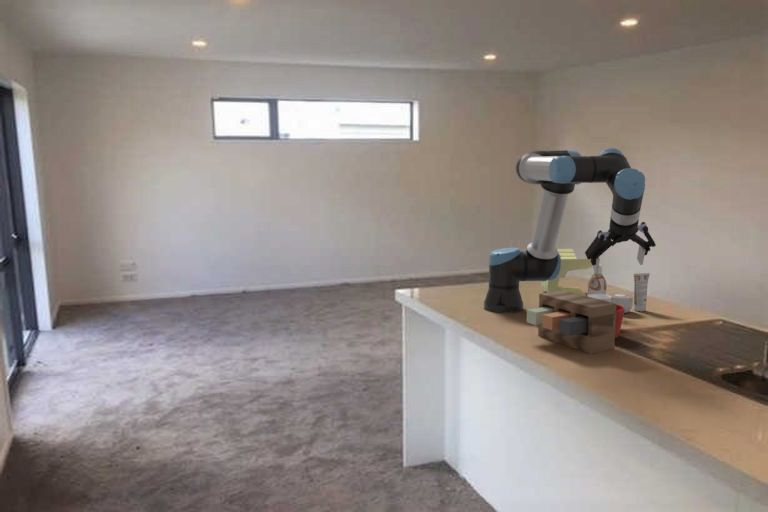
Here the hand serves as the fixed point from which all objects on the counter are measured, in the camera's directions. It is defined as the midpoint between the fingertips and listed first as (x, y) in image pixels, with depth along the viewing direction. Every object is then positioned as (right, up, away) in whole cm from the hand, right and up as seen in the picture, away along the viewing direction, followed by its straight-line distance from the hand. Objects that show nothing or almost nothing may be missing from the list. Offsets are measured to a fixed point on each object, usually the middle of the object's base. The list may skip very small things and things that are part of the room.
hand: (617, 265), depth 182 cm
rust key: (-18, -19, 0) cm, 26 cm away
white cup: (+3, -21, +24) cm, 32 cm away
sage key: (-22, -18, +6) cm, 29 cm away
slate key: (-15, -20, -7) cm, 25 cm away
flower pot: (0, -23, +11) cm, 25 cm away
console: (-12, -24, +4) cm, 27 cm away
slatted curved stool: (+5, -14, +72) cm, 73 cm away
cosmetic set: (+16, -18, +41) cm, 48 cm away
